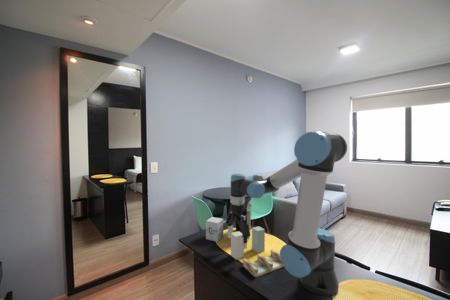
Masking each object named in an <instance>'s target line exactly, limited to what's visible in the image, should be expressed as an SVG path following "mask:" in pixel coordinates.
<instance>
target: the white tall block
mask: <svg viewBox="0 0 450 300" xmlns="http://www.w3.org/2000/svg"><path fill="white" fill-rule="evenodd" d="M242 236H243V235H242V233H241V232H239V231H237V232H236V231H233V233H231V238H230V256H231V257H232V258H234V260H239V259H242V258H243V259H244V257H245V253H244V252H245V249H241V248H242Z"/></svg>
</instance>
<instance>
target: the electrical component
mask: <svg viewBox="0 0 450 300" xmlns="http://www.w3.org/2000/svg"><path fill="white" fill-rule="evenodd" d="M244 204H245V210H244V212H243V216H247V223H248V227H249V232H250V231H252V225H251V223H252V222H251V220H252V217H251V216H252V214H251V211H252V208H251V207H252V205H253V204H252V203H250V201H249V200H245V203H244ZM241 221H242V220H241ZM234 223H235V232H237V231H239V232H241V229H240V226H239V224H238V223H237V221H234ZM241 233H242V232H241ZM250 233H251V232H250ZM250 238H251V235H250V236H249V237H247V240H250Z"/></svg>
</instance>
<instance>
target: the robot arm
mask: <svg viewBox="0 0 450 300" xmlns="http://www.w3.org/2000/svg"><path fill="white" fill-rule="evenodd" d="M293 149H294V150H293V151H294V153H293V154H294V157H296V159H295V160H294V161H291V163H289V164H287V165H285V166H284V167H282V168H281V169H280V170H278V171H275V172H274V173H273V174H271V175H269V176H268V177H266V178H262V179H255V180H251V179H247V178H246V175H245V174H243V173H233V174H231V176H230V201H229V202H230V205H229V207H230V208H229V209H228V214H227V215H226V216H227V217H226V220H225V224H227V238H228V239H231V233H233V232H234V223H235V221H237V223H238V224H239V226H240V229H241V232H242V235H243V236H242V248H241V249H244V250H245V249H247V248H248V247H247V246H248V239H247V237H249V236H250V237H251V232H249V227H248V223H247V216H243V212H244V210H245V204H244V203H245V201H246V200H245V199H246V196H247V197H250V198H253V199H261V198H262V197H263V196H264V195H265V194H270V193H271V194H273V193H275V192H279V190H280V188H282V187H284V186H286V185H288V184H290V183H292V182H294V181H296V180H298V179H299V178H300V179H299V186H298V187H299V188H298V193H297V200H296V201H297V202H296V208H295V213H294V214H295V215H294V221H293V222H294V223H293V227H292V228H293V229H292V230H291V231H289V232H288V235H287V241H286V244H284V245H283V246H282V247H281V248H280V251H279V254H280V258H281V261H282V263H283V265H284V267H283V268H285V270H286V271H287V272H288V273H289V274H290V275H292V276H293V277H295V278H299V282H300V283H301V285H302V287H303V288H305V289H306V290H307V291H309V292H311V293H313V294H315V295H319V296H323V297H324V296H325V297H329V296H334V295H333V294H335V293H336V294H337V293H338V292H339V290H338V289H339V288H340V287H339V285H340V283H339V280H338V277H337V275H336V270H335V256H336V255H335V253H336V251H335V250H336V240H335V238H336V237H335V235H334V234H333V232H331V231H329V230H327V229H323V228H320V227H319V226H320V220H321V219H320V218H321V214H322V209H323V203H324V197H325V191H326V186H327V185H326V183H327V180H328V179H327V178H328V176H329V175H330V174H332V173H333V171H334V166H335V163H336V162H339V161H340V160H342V159H343V158H344V157H345V156H346V154H347V151H348V144H347V141H346V139H345V138H344V137H343V136H342V135H340V134H339V133H337V132H332V131H329V132H328V131H320V130H317V131H316V130H312V131H307V132H305V133H303V134H302V135H300V136H299V137H298V138H297V140H296V141H295V144H294V147H293ZM241 220H242V221H241ZM336 294H335V295H336Z"/></svg>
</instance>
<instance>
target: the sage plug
mask: <svg viewBox="0 0 450 300" xmlns="http://www.w3.org/2000/svg"><path fill="white" fill-rule="evenodd" d="M265 232H266V229H265V228H263V227H261V226H254V227H251V249H252V250H253V251H254V252H255V253H257V254H259V253H261V252H264V251H265V247H266V246H265V245H266V244H265V241H266V240H265V239H266V238H265V237H266V235H265Z"/></svg>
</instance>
